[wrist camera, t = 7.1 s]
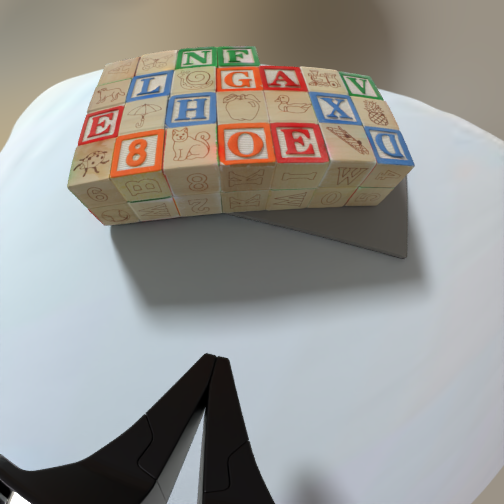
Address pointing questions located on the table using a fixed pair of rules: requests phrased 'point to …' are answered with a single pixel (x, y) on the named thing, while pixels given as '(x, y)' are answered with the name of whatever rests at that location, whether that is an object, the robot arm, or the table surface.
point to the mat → (349, 222)
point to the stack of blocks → (232, 138)
